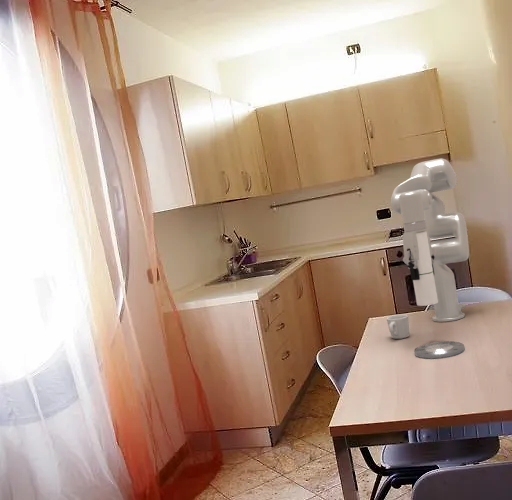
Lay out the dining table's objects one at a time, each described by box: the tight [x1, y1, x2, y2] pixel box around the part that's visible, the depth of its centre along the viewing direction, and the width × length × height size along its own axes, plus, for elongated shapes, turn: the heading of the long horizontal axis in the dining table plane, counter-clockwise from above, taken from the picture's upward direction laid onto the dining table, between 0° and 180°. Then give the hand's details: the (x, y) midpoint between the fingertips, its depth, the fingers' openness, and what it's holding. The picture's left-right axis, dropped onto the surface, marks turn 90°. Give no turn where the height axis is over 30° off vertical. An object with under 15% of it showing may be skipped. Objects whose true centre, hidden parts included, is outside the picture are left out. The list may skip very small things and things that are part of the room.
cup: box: [386, 313, 410, 340], centre depth 231 cm, size 11×8×8 cm
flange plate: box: [413, 340, 466, 360], centre depth 205 cm, size 16×16×1 cm
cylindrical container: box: [409, 231, 438, 307], centre depth 216 cm, size 7×7×25 cm
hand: (423, 277), depth 216 cm, fingers closed on cylindrical container, 7 cm apart
